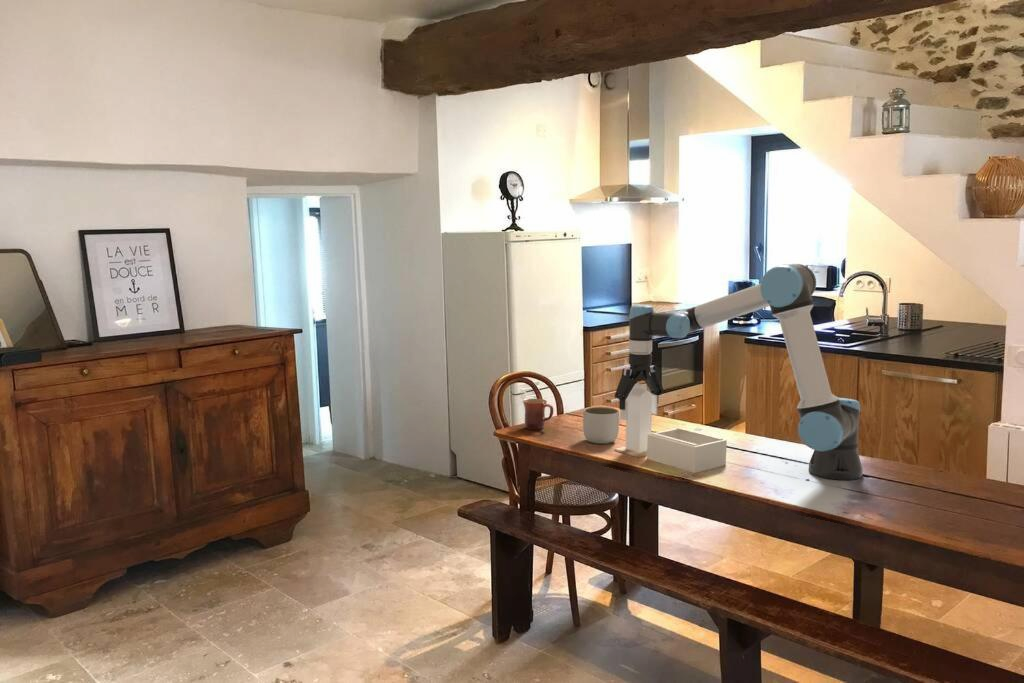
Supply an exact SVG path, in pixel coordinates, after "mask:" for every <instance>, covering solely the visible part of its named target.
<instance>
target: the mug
mask: <svg viewBox="0 0 1024 683" xmlns="http://www.w3.org/2000/svg"><path fill="white" fill-rule="evenodd" d="M522 402H523V406H524V426H525V428H526V429H528V430H531V431H538V430H539V431H540V430H542V429H544V427H545V423H546V422H547V421H549V420H551V419H552V417H553V415H554V406H553V405H552V404H549V403H548V401H547V400H545V399H543V398H525V399H523V400H522ZM546 407H547V408H549V414H548V415H549V416H548V417H546V416H545V415H546V413H545V412H546V410H545V409H546Z"/></svg>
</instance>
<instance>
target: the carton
mask: <svg viewBox="0 0 1024 683" xmlns="http://www.w3.org/2000/svg"><path fill="white" fill-rule="evenodd" d="M727 440H728V439H724V438H722V437H719V436H715V435H709V434H707V433H702V432H698V431H694V430H690V429H686V428H683V427H676V428H672V429H667V430H663V431H657V432H651V434H648V438H647V456H646V459H647V460H650V461H653V462H657V463H660V464H663V465H665V466H666V465H667V466H669V467H673V468H676V469H680V470H683V471H686V472H689V473H693V474H695V473H700V472H704V471H708V470H711V469H715V468H719V467H723V466H724V467H725V466H726V465H727V442H728V441H727Z"/></svg>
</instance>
